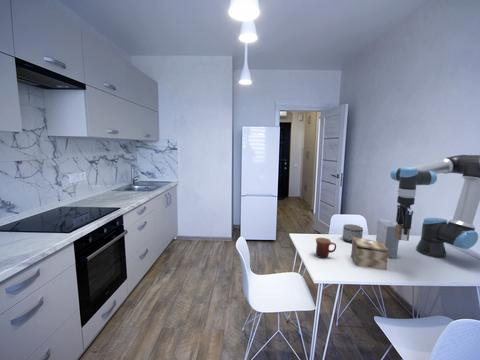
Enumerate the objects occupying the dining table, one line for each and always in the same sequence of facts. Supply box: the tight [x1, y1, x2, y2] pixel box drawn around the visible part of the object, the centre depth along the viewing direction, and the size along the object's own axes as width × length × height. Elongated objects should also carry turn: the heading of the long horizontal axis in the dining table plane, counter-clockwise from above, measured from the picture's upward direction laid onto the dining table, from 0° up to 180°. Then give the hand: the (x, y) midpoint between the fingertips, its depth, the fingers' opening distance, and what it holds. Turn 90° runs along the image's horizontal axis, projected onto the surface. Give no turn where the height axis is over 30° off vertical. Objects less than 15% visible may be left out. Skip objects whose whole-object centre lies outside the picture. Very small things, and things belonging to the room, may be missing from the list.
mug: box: [315, 237, 337, 259], centre depth 145 cm, size 12×9×10 cm
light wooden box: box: [350, 241, 389, 270], centre depth 138 cm, size 16×12×10 cm
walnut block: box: [394, 224, 411, 242], centre depth 129 cm, size 5×5×7 cm
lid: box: [352, 237, 389, 252], centre depth 138 cm, size 16×12×1 cm
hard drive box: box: [375, 218, 400, 259], centre depth 152 cm, size 16×8×20 cm, turn 168°
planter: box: [342, 223, 364, 244], centre depth 171 cm, size 13×13×10 cm
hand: (401, 237), depth 130 cm, fingers closed on walnut block, 5 cm apart
